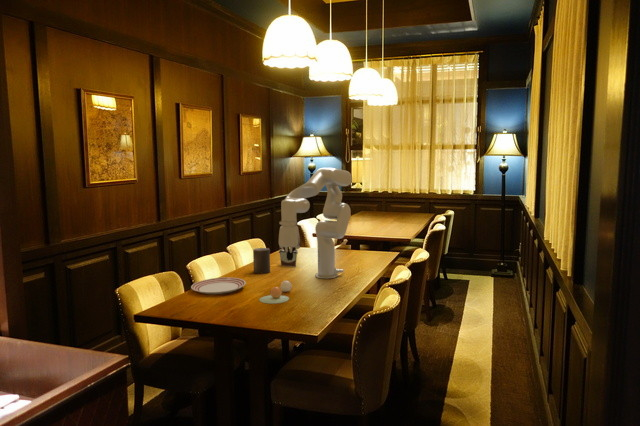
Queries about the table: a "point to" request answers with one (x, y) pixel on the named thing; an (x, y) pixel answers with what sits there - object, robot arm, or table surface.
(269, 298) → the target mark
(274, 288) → the object ball
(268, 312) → the table surface
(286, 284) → the cue ball
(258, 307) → the table surface
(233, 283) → the dinner plate
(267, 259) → the pillar candle
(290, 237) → the robot arm
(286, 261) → the food container
